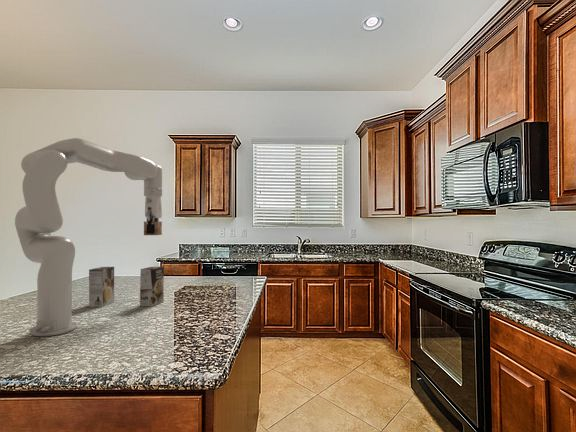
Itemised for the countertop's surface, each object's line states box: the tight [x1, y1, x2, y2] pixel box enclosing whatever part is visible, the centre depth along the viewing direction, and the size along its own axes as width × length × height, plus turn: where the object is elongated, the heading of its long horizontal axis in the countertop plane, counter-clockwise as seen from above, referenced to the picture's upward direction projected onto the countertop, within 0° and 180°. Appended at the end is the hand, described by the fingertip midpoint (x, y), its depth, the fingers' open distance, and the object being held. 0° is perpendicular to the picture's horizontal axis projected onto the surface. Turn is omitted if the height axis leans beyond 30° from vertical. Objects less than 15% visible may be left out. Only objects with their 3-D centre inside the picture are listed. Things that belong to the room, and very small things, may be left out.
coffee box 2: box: [139, 266, 165, 308], centre depth 148 cm, size 9×6×16 cm
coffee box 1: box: [88, 266, 115, 308], centre depth 148 cm, size 9×6×16 cm
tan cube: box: [143, 221, 163, 236], centre depth 148 cm, size 6×6×6 cm
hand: (152, 232), depth 148 cm, fingers closed on tan cube, 5 cm apart
